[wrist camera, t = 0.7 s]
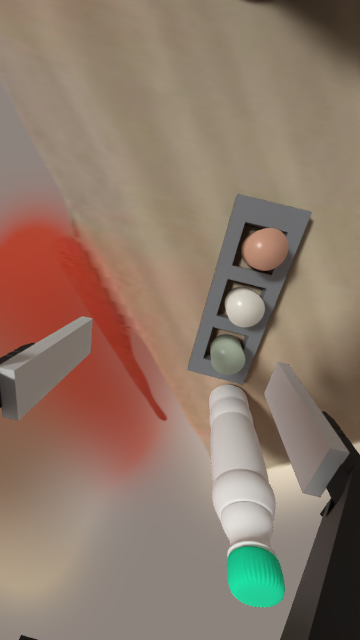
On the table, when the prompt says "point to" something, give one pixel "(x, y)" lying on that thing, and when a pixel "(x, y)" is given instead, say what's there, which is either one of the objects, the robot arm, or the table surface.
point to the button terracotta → (265, 249)
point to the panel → (246, 279)
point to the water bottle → (243, 500)
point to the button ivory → (244, 307)
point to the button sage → (227, 354)
